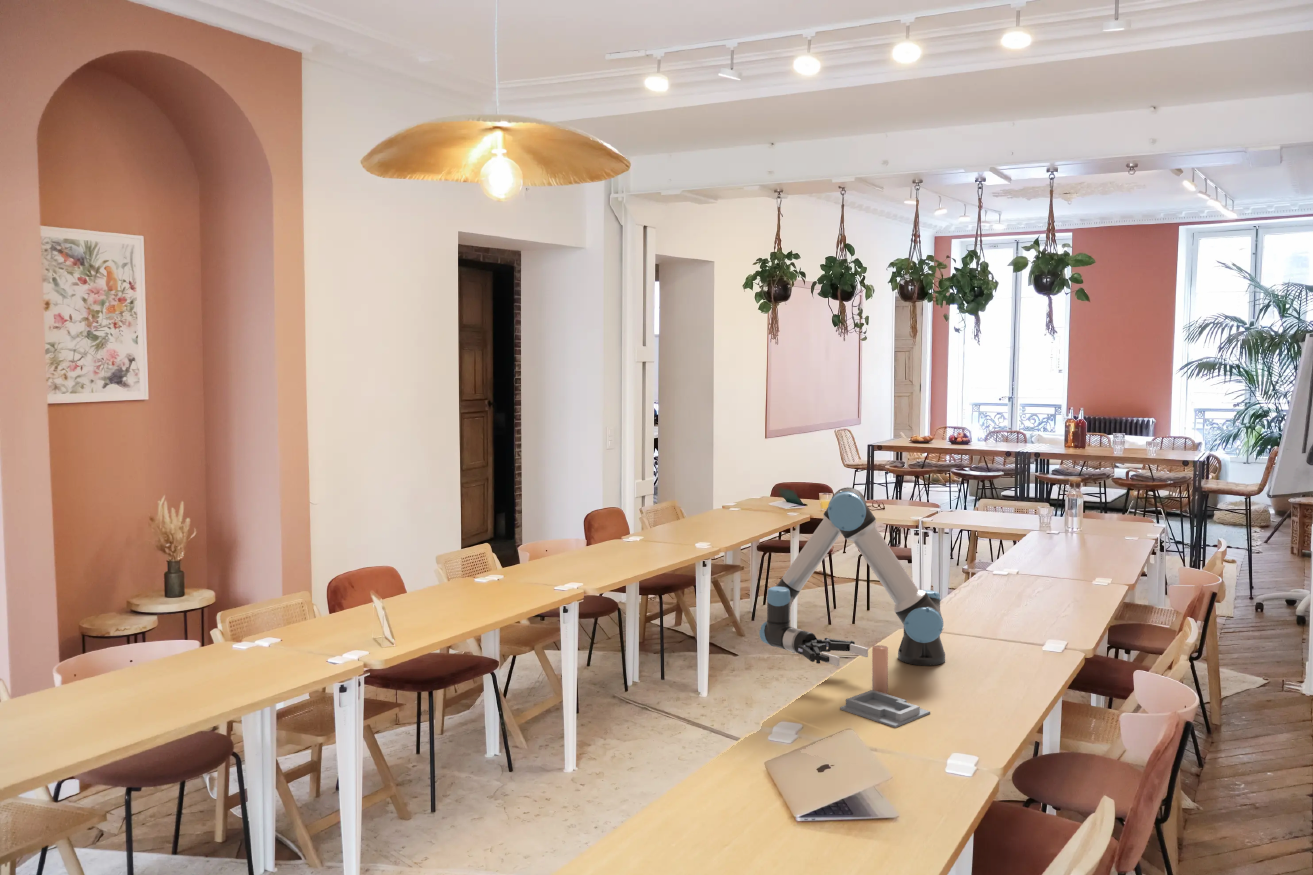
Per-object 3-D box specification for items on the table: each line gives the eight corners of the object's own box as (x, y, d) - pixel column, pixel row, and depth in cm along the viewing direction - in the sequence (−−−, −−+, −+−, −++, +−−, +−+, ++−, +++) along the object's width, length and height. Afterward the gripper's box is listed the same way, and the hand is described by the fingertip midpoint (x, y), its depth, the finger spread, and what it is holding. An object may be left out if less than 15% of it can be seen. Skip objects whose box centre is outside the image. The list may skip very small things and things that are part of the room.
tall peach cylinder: (878, 689, 294) (878, 644, 293) (890, 693, 290) (891, 647, 289) (869, 693, 291) (869, 647, 290) (881, 697, 287) (881, 650, 286)
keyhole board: (875, 696, 288) (875, 687, 288) (930, 713, 274) (930, 704, 273) (840, 709, 278) (840, 700, 278) (895, 727, 263) (895, 718, 263)
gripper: (825, 645, 322) (878, 660, 306) (773, 660, 306) (826, 677, 290) (826, 623, 321) (878, 637, 305) (773, 637, 305) (826, 652, 289)
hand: (853, 657), depth 297 cm, fingers open, 13 cm apart
